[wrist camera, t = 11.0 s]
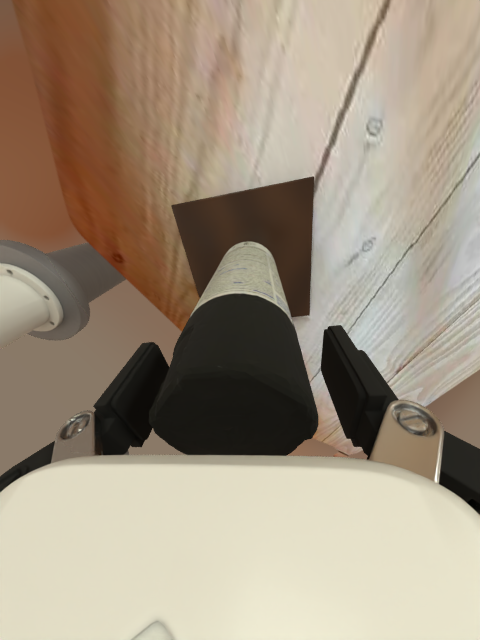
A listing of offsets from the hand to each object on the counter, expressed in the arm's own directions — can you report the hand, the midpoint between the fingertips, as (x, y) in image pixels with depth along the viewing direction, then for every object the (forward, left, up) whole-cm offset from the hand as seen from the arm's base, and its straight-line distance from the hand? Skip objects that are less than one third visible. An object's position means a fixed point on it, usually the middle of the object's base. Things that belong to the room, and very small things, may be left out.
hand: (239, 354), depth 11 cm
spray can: (0, 0, -16) cm, 16 cm away
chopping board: (0, 0, -17) cm, 17 cm away
